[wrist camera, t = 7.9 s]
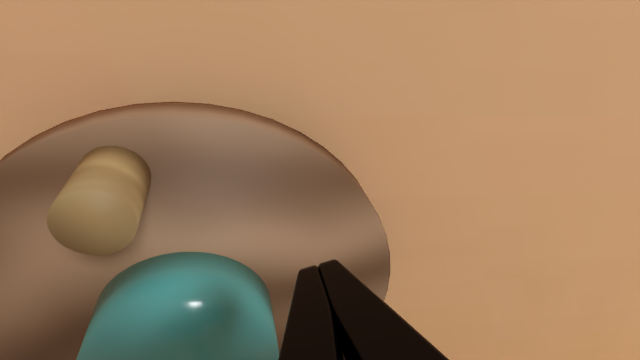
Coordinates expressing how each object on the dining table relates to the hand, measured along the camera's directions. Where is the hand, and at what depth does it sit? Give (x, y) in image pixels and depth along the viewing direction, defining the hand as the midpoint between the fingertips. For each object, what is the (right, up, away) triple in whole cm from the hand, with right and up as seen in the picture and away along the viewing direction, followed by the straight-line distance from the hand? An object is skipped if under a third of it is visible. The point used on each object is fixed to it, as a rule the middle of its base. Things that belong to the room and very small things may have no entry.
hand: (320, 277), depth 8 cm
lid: (-6, -4, +10) cm, 13 cm away
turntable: (-7, -3, +12) cm, 14 cm away
